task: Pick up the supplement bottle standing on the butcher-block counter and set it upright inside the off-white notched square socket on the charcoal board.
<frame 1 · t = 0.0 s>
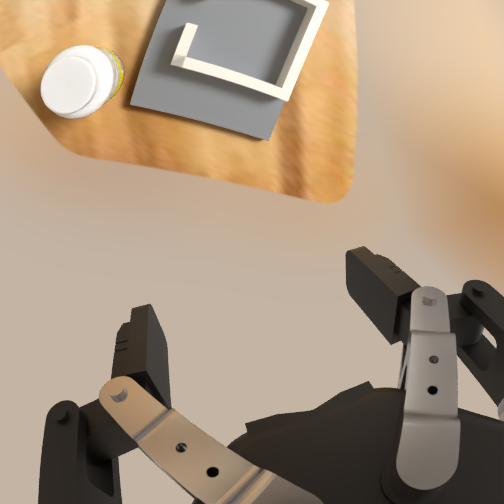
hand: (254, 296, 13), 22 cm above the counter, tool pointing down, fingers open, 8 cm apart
supplement bottle: (97, 75, 24), on the counter
charcoal board: (228, 44, 26), on the counter
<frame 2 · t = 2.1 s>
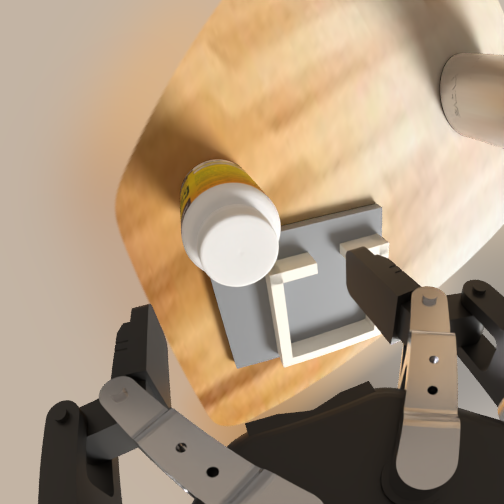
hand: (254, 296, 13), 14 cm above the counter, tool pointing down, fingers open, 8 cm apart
supplement bottle: (215, 192, 25), on the counter
charcoal board: (302, 289, 31), on the counter
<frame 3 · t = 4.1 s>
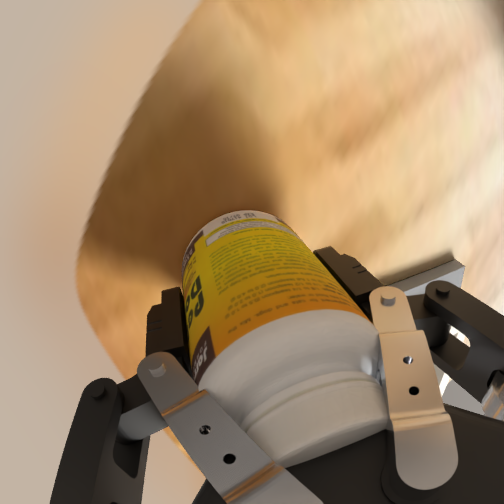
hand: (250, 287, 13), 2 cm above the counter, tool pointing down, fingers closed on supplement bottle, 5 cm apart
supplement bottle: (240, 262, 15), on the counter, touching gripper
charcoal board: (352, 374, 21), on the counter
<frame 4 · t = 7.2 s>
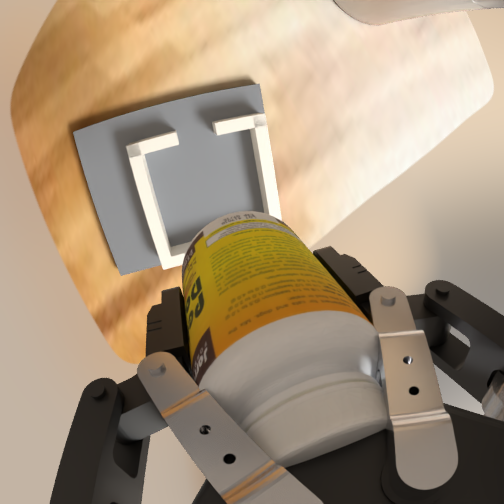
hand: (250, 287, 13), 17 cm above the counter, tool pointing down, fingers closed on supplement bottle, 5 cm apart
supplement bottle: (240, 262, 15), point 15 cm above the counter, touching gripper
charcoal board: (181, 180, 28), on the counter
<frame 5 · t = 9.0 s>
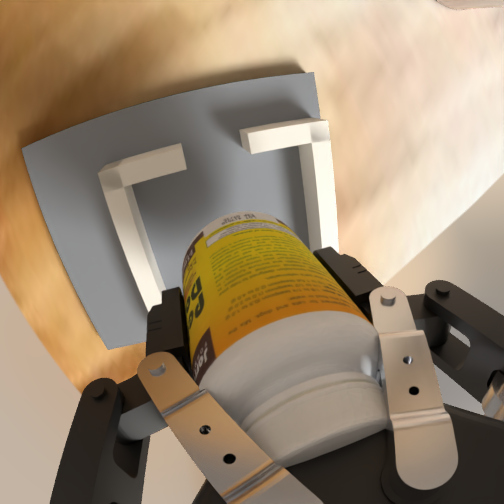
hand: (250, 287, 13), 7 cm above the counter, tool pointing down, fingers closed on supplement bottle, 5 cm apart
supplement bottle: (240, 262, 15), point 4 cm above the counter, touching gripper
charcoal board: (190, 219, 18), on the counter
when the fingers open (5 cm above the counter, at t = 10.4 s): supplement bottle drops 2 cm, resting on charcoal board.
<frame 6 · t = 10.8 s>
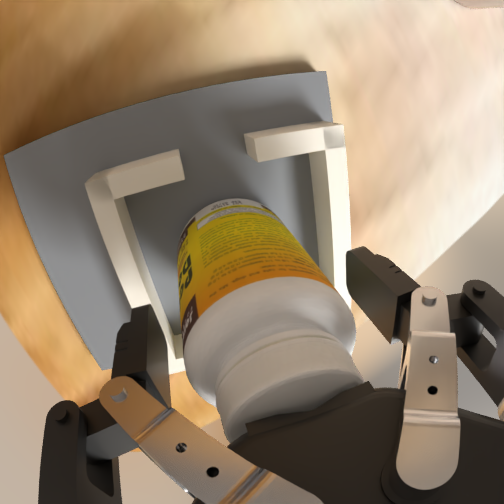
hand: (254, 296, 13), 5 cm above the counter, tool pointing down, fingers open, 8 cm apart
supplement bottle: (231, 246, 17), point 1 cm above the counter, touching charcoal board
charcoal board: (189, 232, 17), on the counter
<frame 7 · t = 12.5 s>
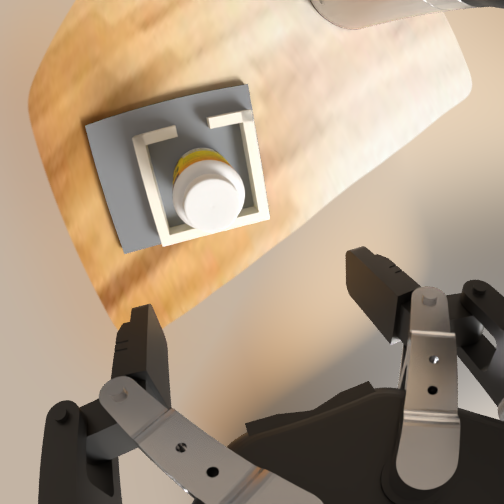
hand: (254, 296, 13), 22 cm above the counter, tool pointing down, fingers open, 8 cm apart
supplement bottle: (201, 174, 31), point 1 cm above the counter, touching charcoal board
charcoal board: (180, 168, 31), on the counter
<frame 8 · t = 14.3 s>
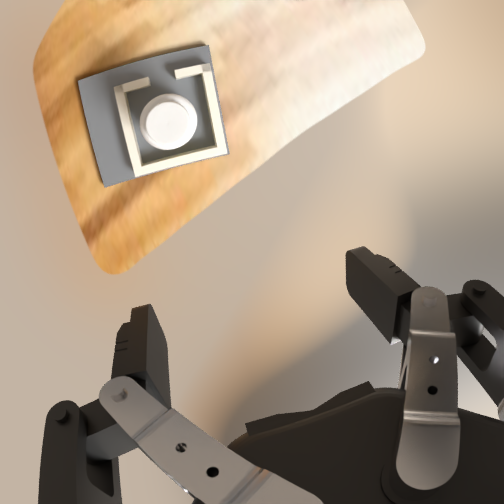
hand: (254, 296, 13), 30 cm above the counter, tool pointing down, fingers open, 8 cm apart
supplement bottle: (169, 118, 35), point 1 cm above the counter, touching charcoal board
charcoal board: (153, 114, 35), on the counter
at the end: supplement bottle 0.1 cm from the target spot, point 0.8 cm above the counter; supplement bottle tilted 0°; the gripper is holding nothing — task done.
